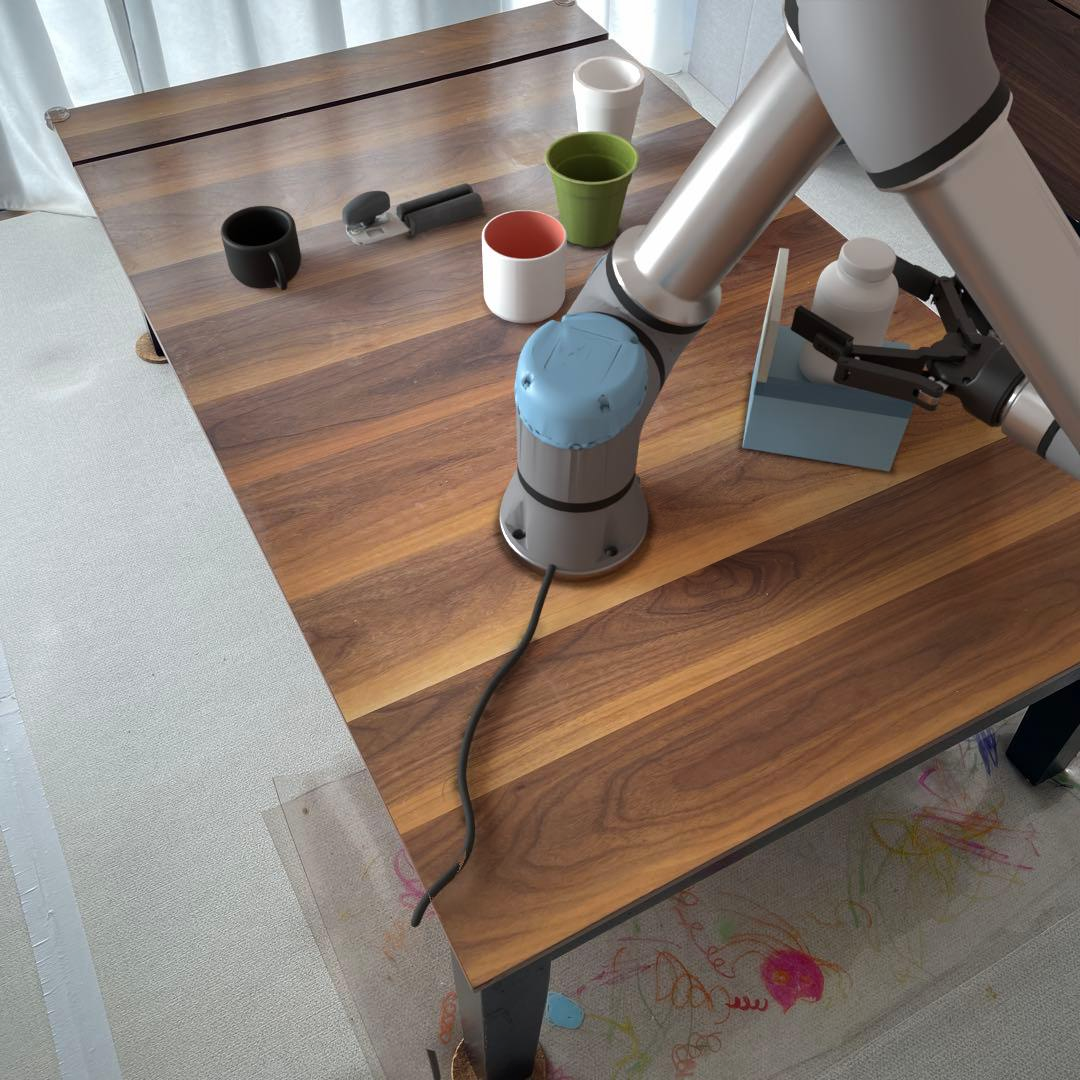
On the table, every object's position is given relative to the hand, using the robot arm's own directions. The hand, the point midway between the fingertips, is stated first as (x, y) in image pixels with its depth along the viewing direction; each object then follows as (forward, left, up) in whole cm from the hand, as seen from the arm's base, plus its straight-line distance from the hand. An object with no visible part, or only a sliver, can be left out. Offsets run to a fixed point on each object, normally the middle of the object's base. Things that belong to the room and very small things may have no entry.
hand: (837, 288), depth 113 cm
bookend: (-1, -2, -18) cm, 18 cm away
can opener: (+24, +53, -18) cm, 61 cm away
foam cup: (+45, +31, -18) cm, 57 cm away
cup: (+12, +35, -18) cm, 41 cm away
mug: (+9, +67, -18) cm, 70 cm away
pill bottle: (-1, -2, -10) cm, 10 cm away
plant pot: (+28, +30, -18) cm, 45 cm away
